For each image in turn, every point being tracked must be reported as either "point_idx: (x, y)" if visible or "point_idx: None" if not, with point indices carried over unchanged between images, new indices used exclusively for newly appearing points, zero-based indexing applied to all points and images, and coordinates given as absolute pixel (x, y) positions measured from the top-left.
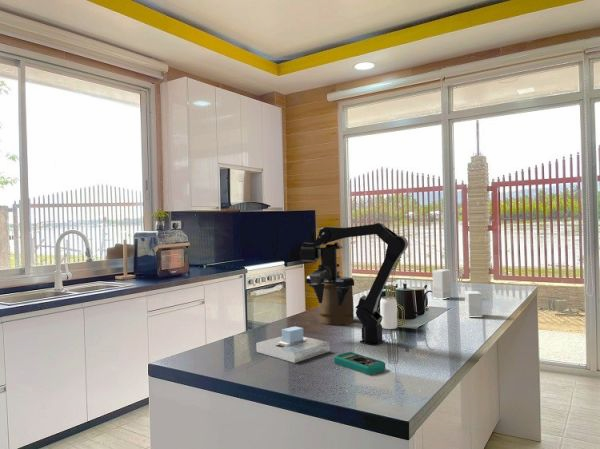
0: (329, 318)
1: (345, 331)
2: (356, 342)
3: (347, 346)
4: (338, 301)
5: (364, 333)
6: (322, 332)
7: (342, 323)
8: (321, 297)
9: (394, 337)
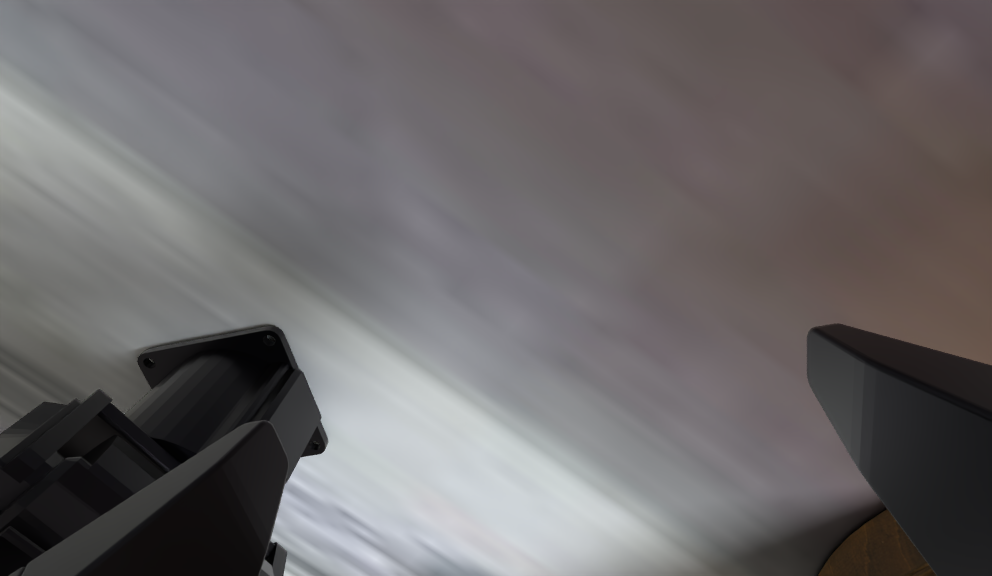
0: None
1: (646, 451)
2: (302, 310)
3: (226, 174)
4: (182, 476)
5: (215, 390)
6: (773, 295)
7: (834, 562)
8: (894, 466)
9: (285, 569)
